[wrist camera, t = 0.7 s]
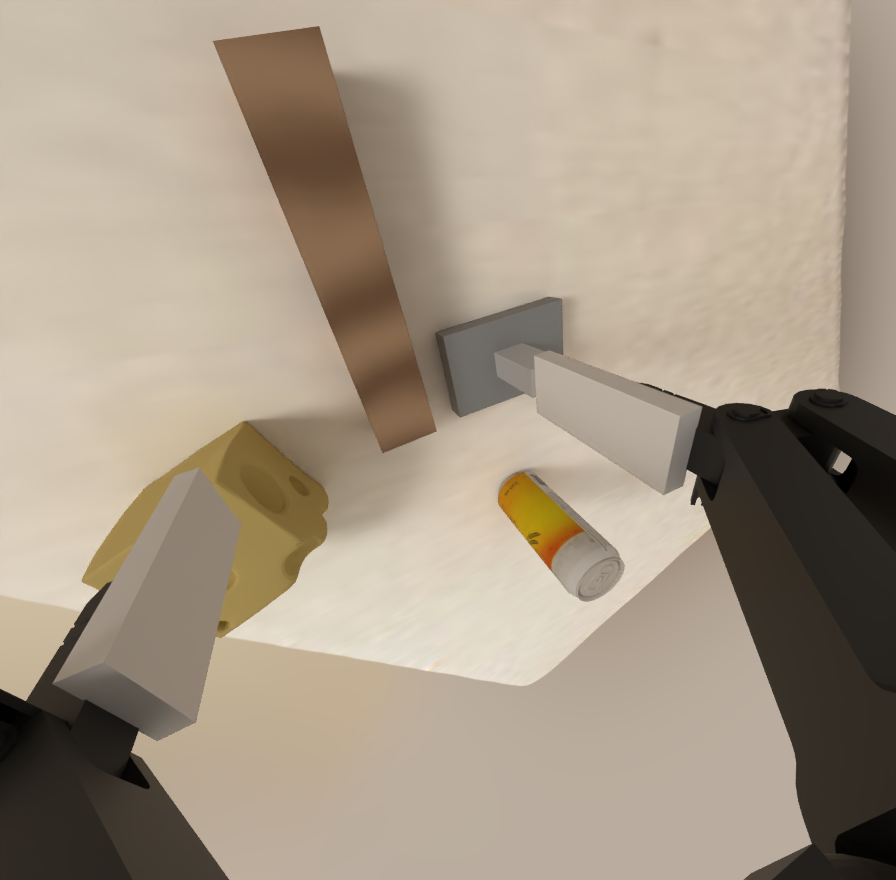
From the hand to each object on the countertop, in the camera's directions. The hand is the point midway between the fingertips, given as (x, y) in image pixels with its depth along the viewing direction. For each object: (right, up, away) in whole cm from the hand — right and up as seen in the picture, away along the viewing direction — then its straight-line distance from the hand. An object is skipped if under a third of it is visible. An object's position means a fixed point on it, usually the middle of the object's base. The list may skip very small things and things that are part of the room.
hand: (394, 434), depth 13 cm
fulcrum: (+7, +8, +20) cm, 23 cm away
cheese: (-17, -4, +17) cm, 24 cm away
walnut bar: (-6, +12, +13) cm, 19 cm away
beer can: (+11, -6, +30) cm, 33 cm away
